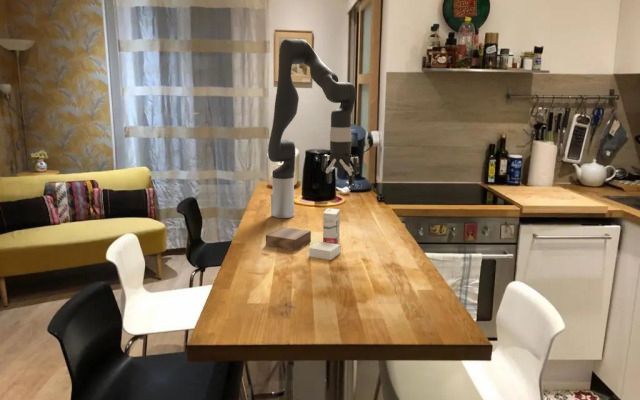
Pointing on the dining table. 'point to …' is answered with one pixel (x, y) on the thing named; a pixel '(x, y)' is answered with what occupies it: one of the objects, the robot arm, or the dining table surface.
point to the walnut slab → (288, 238)
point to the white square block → (324, 250)
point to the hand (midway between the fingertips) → (340, 184)
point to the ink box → (331, 225)
